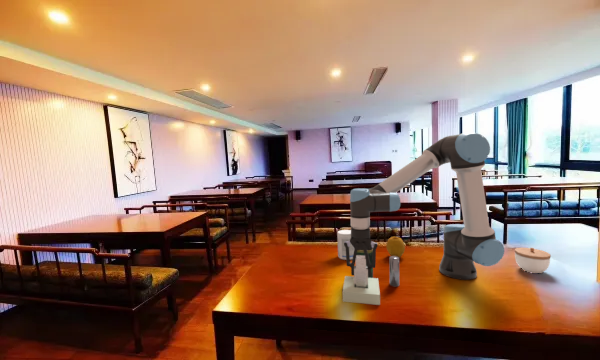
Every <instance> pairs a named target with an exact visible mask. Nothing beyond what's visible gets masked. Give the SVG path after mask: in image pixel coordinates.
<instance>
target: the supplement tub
mask: <svg viewBox="0 0 600 360" xmlns="http://www.w3.org/2000/svg"><path fill="white" fill-rule="evenodd" d="M336 235H337V237H336V238H337V256H338V258H339V259H340V260H344V261H345V260H346V248H345V246H344V242H345V241H349V240H350V239H351V229H341V230H338V231H337V233H336ZM353 254H354V247H353V246H352V244H351V243H350V246H349V255H350V261H352V259H353Z"/></svg>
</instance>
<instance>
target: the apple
mask: <svg viewBox="0 0 600 360" xmlns="http://www.w3.org/2000/svg"><path fill="white" fill-rule="evenodd" d="M386 250H387V253H388V254H389V255H390V256H396V257H399V259H400V258H401V257H402V256H403V254H404V253H405V250H406V247H405V243H404V240H403V239H402V238H401V237H398V236H391V237H390V238H388V239H387V242H386Z"/></svg>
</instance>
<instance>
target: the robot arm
mask: <svg viewBox="0 0 600 360" xmlns="http://www.w3.org/2000/svg"><path fill="white" fill-rule="evenodd" d="M490 152H491V146H490V143H489V140H488V139H487V137H485V136H483V135H482V134H480V133H479V132H464V133H460V134H452V135H447V136H445V137H442V138H440V139H439V140H437V141H436V142H434V143H433V144H432V145H430V146H429V147H427V148H426V149H424V150H423V151H422V154H421V155H420V156H417V157H416V158H415V159H414V160H412V161H410V162H409V163H408V164H406V165H405V166H403V167H402V168H400V169H399V170H398V171H396V172H394V173H393V174H391V175H390V176H388V177H387V178H385V179H384V180H383V181H381V182H380V183H378V184H377V185H375V186H374V187H371V188H359V187H358V188H353V189H351V190H350V195H349V196H350V197H349V202H350V203H349V204H350V206H349V207H350V230H351V239H350V240H349V241H345V242H344V246H345V248H346V266H347V267H350V272H351V273H350V274H351V276H353V277H354V284H356V255H357V250H364V254H365V258H366V263H367V267H366V285H368V276H371V268H373V269H375V268H376V264H377V263H376V260H377V257H376V256H377V248H378V242H375V241H372V239H371V228H370V226H371V220H370V219H371V215H370V214H371V213H378V212H380V213H381V212H384V213H385V212H390V213H391V212H396V211H398V210H400V207H401V198H400V195H399V194H398V192H399V191H401V190H402V189H404V188H405V187H407V186H408V185H410V184H411V183H413V182H415V181H416V180H417V179H418V178H420V177H422V176H423V175H425V174H427V173H428V172H429V171H430V170H432V169H433V168H434V169H438V168H439V167H441V166H443V165H445V164H449V163H450V169H451V170H452V171H454V172H455V173H456V180H457V186H458V194H459V201H460V205H461V212H462V219H463V223H462V224H460V223H455V224H454V223H452V224H451V223H450V224H446V225H445V226H443V227H444V228H443V255H442V258H441V260H440V263H439V266H438V267H439V272H440V273H441V274H442V275H444V276H446V277H449V278H452V279H456V280H473V279H476V278H477V277H478V271H477V268H476V265H475V264H477V265H481V266H483V267H492V266H495V265H496V264H498V263H500V261H501V260H502V259H503V257H504V255H505V247H504V244H503V243H502V242H501V241H500V240H499V239H496V231H495V230H494V229H493V227H491V226H490V223H489V221H490V220H489V216H488V215H489V214H488V209H487V201H486V195H485V189H484V188H485V187H484V182H483V181H484V179H483V175H482V168H483V167H484V166H485V165H486V163H485V161H486V160H487V158H489V157H488V156H489V155H490ZM350 243H351V244H352V246H353V247H354V254H353V259H351V260H350V255H349V246H350ZM370 244H371V246H372V248H373V251H372V264H370V260H369V256H368V251H367V248H368V247H369V245H370Z"/></svg>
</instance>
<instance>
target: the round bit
mask: <svg viewBox="0 0 600 360" xmlns="http://www.w3.org/2000/svg"><path fill="white" fill-rule="evenodd" d="M388 259H389V262H388V263H389V285H390V286H391V287H400V258H399V257H396V256H391V255H390V256H389V258H388Z"/></svg>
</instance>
